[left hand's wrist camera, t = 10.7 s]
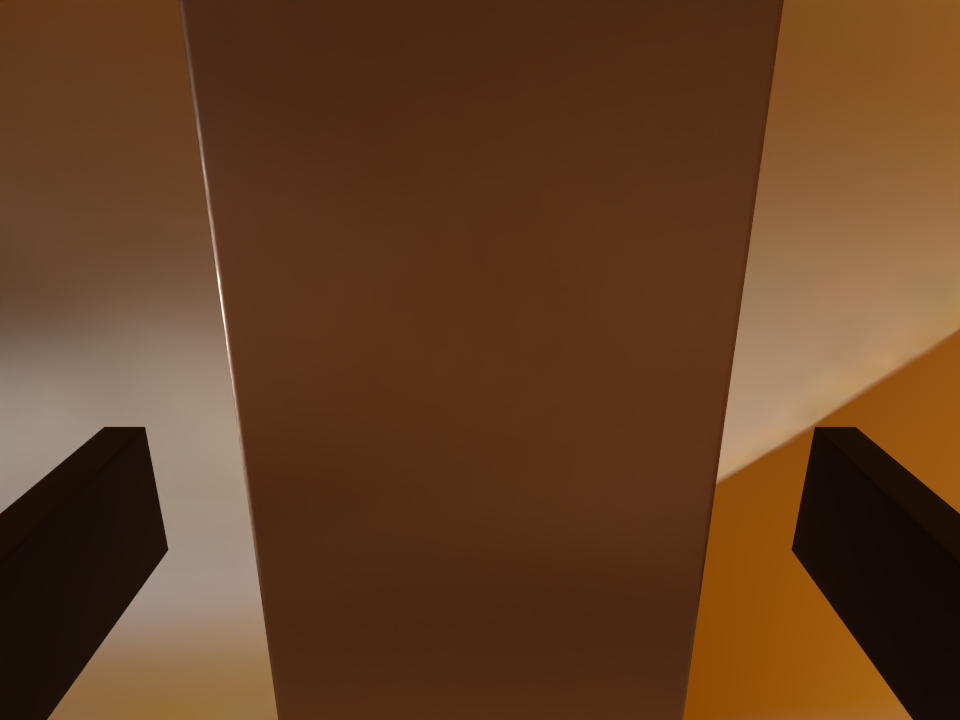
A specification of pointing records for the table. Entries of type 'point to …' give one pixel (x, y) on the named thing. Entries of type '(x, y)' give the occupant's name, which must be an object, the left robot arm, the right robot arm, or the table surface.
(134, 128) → the table surface
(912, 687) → the left robot arm
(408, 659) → the bar
